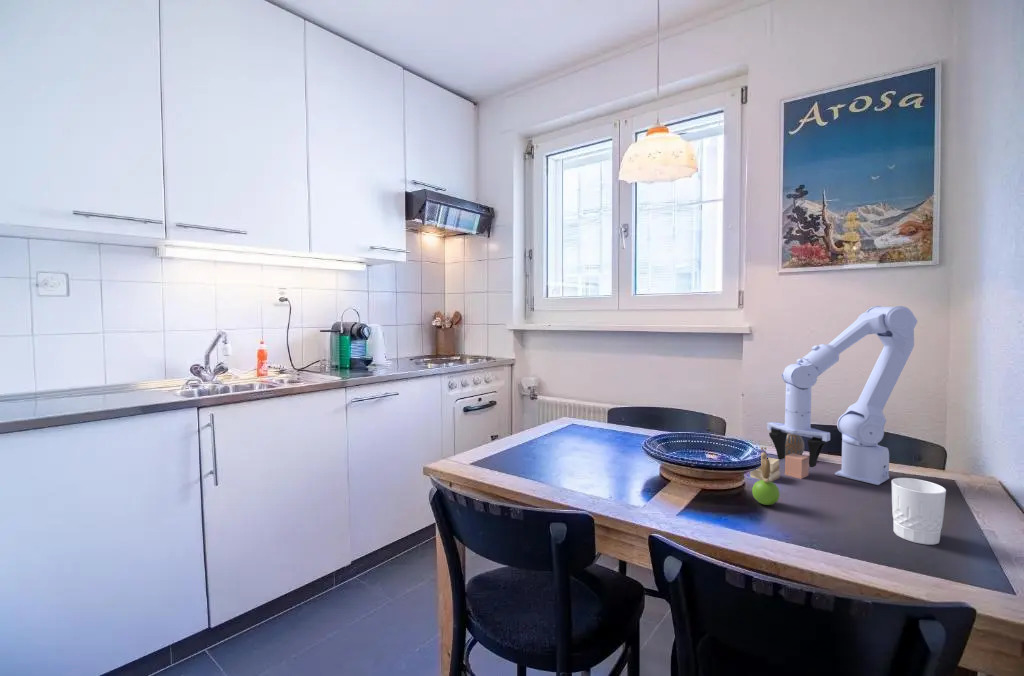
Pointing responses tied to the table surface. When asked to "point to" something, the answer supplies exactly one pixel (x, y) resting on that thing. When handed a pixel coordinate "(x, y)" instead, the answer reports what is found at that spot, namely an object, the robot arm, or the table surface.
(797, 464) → the block
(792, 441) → the vase
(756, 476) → the tower base
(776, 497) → the snail figurine
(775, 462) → the tower top
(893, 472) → the table surface
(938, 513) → the white cup
